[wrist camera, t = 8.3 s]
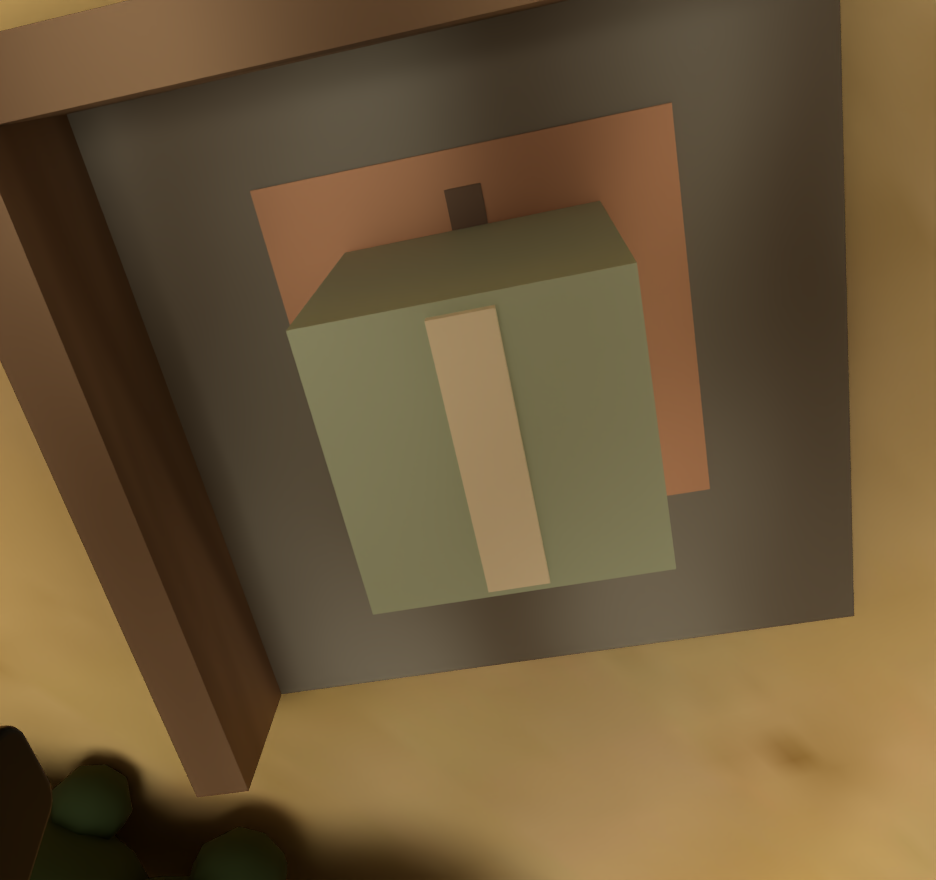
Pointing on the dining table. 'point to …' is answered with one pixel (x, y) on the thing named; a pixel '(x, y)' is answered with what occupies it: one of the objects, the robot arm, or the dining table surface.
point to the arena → (393, 220)
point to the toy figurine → (113, 863)
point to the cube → (489, 410)
